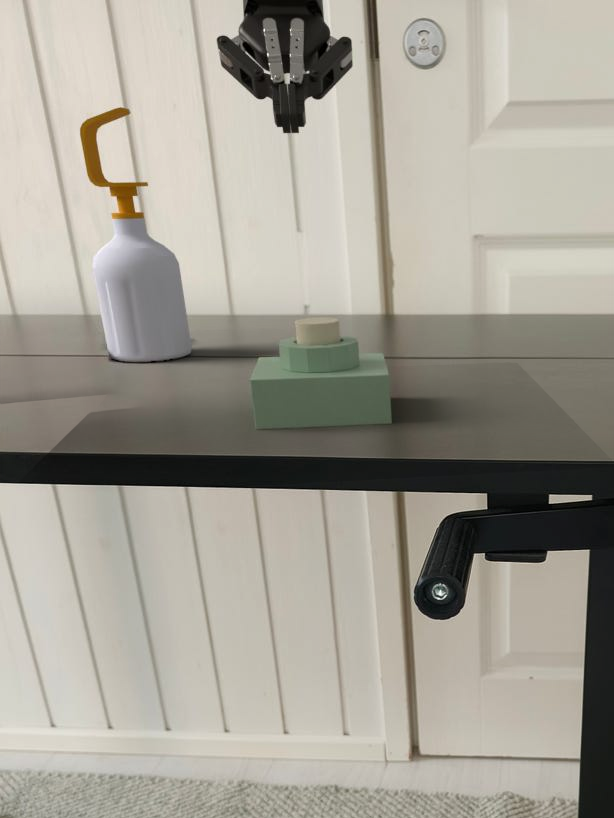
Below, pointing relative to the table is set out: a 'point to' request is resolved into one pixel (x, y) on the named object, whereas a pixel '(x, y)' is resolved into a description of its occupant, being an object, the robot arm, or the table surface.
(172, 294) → the soap bottle
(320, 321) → the cylinder
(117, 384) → the table surface
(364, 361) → the dispenser
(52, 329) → the table surface
